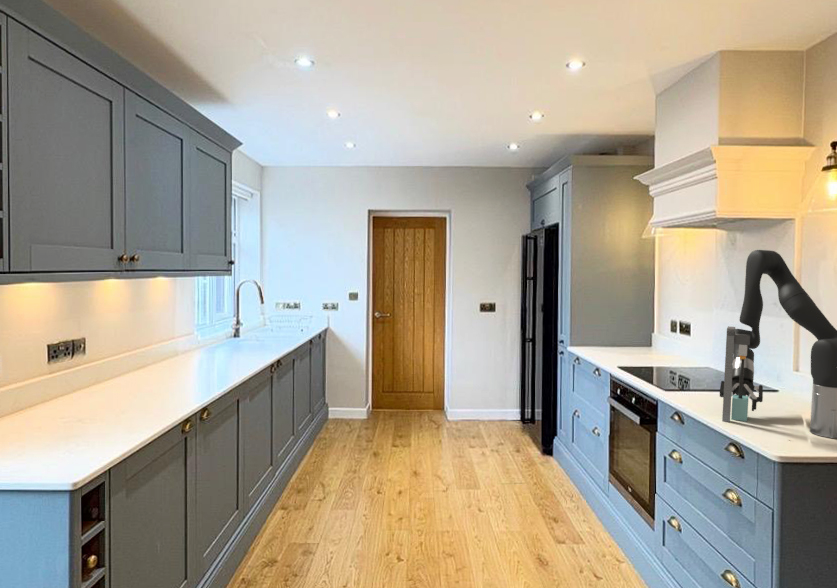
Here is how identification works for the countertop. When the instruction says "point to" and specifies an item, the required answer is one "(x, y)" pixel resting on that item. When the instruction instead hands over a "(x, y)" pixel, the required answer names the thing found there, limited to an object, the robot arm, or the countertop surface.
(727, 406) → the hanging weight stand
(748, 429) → the countertop surface
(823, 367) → the robot arm
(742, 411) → the sleeve
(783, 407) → the countertop surface
